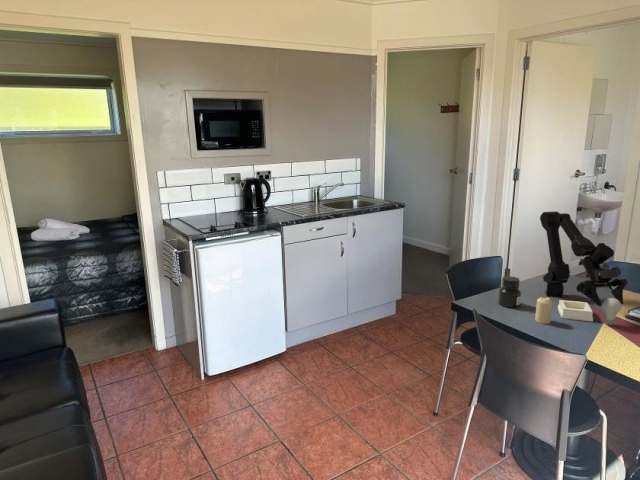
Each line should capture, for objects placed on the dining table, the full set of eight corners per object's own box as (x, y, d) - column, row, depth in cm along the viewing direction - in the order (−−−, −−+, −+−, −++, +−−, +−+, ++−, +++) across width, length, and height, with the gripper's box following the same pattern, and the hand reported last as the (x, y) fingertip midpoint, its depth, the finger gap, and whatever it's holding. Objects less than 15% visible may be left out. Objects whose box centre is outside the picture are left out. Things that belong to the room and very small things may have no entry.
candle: (549, 319, 180) (551, 296, 178) (551, 324, 175) (554, 300, 172) (534, 317, 182) (536, 294, 179) (535, 323, 177) (538, 299, 174)
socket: (561, 318, 181) (562, 308, 180) (557, 308, 191) (558, 299, 190) (592, 321, 177) (593, 312, 176) (586, 311, 187) (588, 302, 186)
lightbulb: (596, 322, 176) (600, 296, 174) (611, 321, 177) (614, 295, 174) (607, 328, 171) (611, 301, 168) (622, 327, 171) (626, 301, 168)
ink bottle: (523, 308, 191) (525, 282, 188) (502, 308, 191) (504, 282, 189) (514, 300, 201) (516, 275, 198) (494, 300, 201) (496, 275, 198)
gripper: (584, 261, 172) (602, 297, 164) (628, 258, 175) (647, 294, 167) (568, 274, 182) (584, 309, 174) (610, 272, 184) (627, 306, 176)
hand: (611, 305), depth 172 cm, fingers open, 9 cm apart
